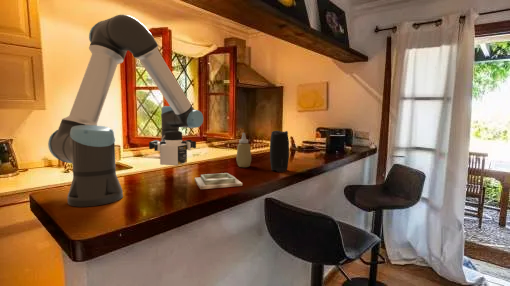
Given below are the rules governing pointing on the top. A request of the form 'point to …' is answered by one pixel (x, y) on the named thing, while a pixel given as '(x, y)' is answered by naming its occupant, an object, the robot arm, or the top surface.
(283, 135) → the portable speaker
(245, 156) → the squeeze bottle
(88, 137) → the robot arm
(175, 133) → the medicine bottle
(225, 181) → the collar tray
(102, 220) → the top surface
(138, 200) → the top surface
